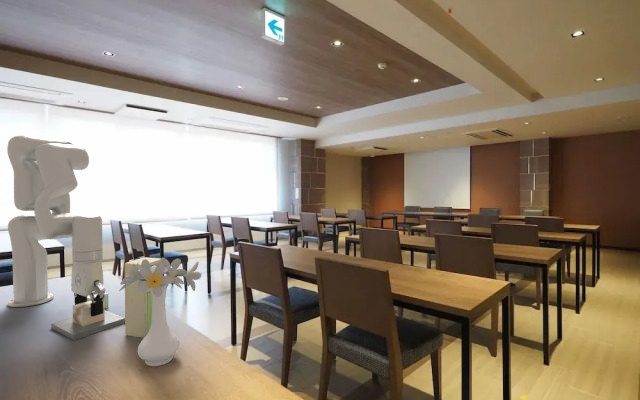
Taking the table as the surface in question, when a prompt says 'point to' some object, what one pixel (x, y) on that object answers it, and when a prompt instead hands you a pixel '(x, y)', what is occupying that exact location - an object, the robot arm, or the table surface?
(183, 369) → the table surface
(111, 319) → the base plate
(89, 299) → the sage block
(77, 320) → the birch block
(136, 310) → the toy refrigerator
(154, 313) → the flower vase
